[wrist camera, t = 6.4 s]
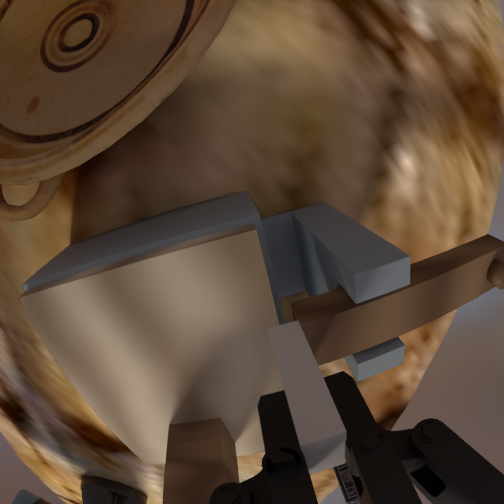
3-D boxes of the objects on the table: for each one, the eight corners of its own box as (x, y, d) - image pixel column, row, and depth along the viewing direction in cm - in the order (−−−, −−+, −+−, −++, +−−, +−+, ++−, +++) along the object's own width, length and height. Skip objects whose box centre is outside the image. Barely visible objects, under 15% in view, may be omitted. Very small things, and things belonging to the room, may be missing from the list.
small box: (334, 466, 41) (349, 509, 31) (328, 456, 38) (344, 504, 28) (386, 443, 40) (406, 484, 30) (384, 430, 38) (407, 475, 28)
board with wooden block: (147, 454, 21) (140, 533, 13) (27, 289, 14) (-52, 378, 6) (303, 431, 21) (329, 517, 13) (253, 222, 14) (303, 333, 6)
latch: (299, 345, 16) (314, 384, 13) (290, 302, 15) (307, 340, 12) (483, 271, 16) (512, 290, 13) (488, 234, 15) (519, 249, 12)
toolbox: (154, 401, 29) (142, 488, 18) (69, 245, 22) (-11, 316, 10) (341, 358, 29) (385, 442, 18) (318, 173, 22) (408, 203, 11)
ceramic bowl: (54, -56, 8) (26, -84, 1) (270, -65, 13) (288, -114, 5) (-25, 188, 18) (-77, 207, 10) (186, 224, 22) (171, 263, 15)
